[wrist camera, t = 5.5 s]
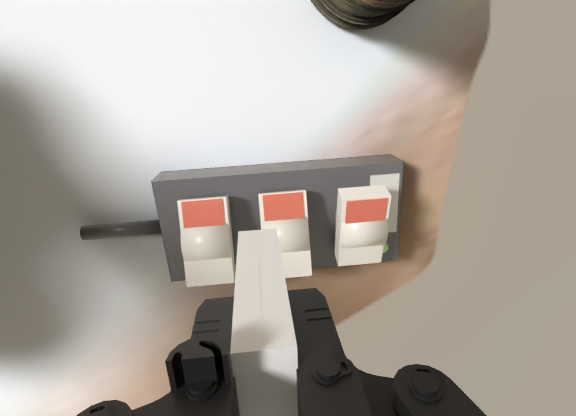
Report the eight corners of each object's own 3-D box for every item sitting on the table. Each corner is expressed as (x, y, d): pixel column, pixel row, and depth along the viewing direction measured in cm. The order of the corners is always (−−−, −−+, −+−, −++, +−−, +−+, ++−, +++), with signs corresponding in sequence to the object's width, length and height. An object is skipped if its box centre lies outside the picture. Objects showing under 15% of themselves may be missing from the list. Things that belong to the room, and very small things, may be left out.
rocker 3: (332, 246, 31) (339, 272, 29) (335, 182, 28) (344, 206, 25) (372, 242, 32) (383, 268, 29) (381, 178, 28) (394, 201, 25)
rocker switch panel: (102, 271, 33) (87, 290, 30) (76, 178, 30) (57, 189, 27) (386, 245, 35) (398, 261, 32) (390, 154, 32) (404, 162, 29)
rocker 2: (265, 271, 30) (265, 282, 27) (258, 192, 29) (257, 194, 26) (308, 267, 30) (313, 278, 27) (302, 189, 29) (307, 190, 26)
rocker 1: (193, 277, 29) (184, 290, 26) (184, 198, 29) (174, 201, 26) (236, 273, 30) (233, 285, 27) (229, 194, 29) (225, 197, 26)
